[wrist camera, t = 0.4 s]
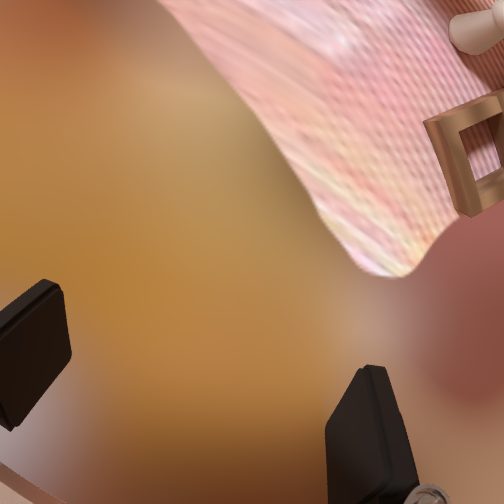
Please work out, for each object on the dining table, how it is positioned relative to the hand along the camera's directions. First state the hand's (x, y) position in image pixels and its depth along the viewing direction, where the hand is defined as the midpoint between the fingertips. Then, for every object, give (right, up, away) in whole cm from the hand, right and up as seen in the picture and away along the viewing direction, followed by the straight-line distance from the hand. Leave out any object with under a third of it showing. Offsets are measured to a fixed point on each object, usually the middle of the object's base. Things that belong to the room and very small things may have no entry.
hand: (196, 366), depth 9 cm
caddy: (+35, +19, +21) cm, 45 cm away
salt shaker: (+29, +31, +18) cm, 46 cm away
